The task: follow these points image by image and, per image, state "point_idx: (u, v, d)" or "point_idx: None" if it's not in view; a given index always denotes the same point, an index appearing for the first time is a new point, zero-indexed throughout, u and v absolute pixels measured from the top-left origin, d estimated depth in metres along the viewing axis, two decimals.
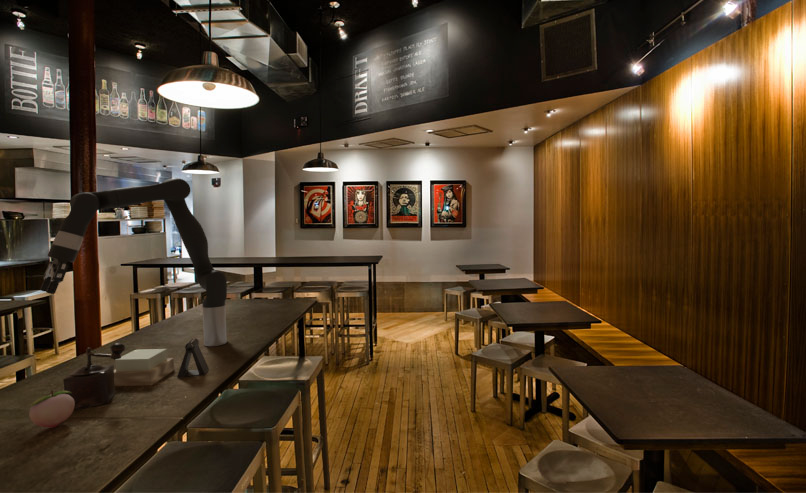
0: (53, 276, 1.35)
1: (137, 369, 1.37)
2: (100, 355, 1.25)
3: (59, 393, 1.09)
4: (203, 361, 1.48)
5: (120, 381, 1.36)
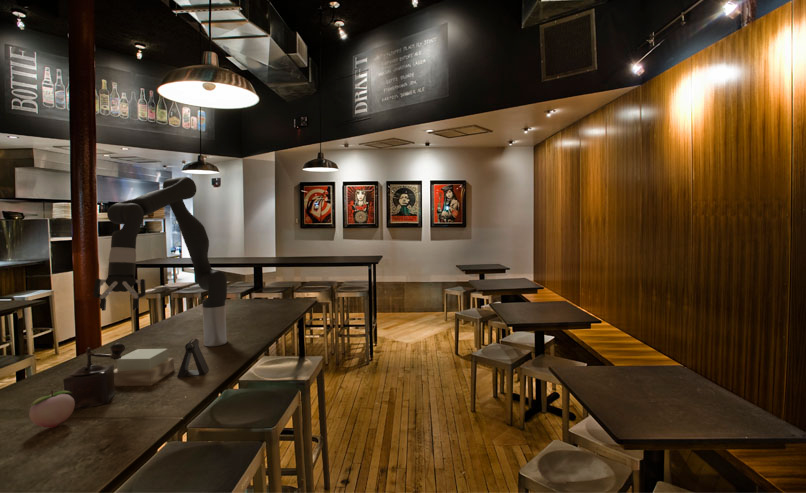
0: (135, 293, 1.38)
1: (138, 369, 1.38)
2: (100, 355, 1.25)
3: (59, 393, 1.09)
4: (203, 361, 1.48)
5: (120, 381, 1.36)
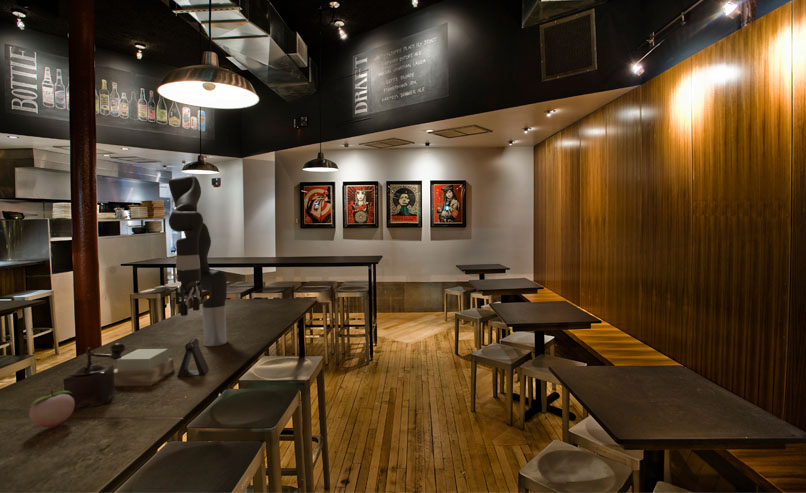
0: (198, 295, 1.50)
1: (138, 369, 1.38)
2: (100, 355, 1.25)
3: (59, 393, 1.09)
4: (203, 361, 1.48)
5: (120, 381, 1.36)
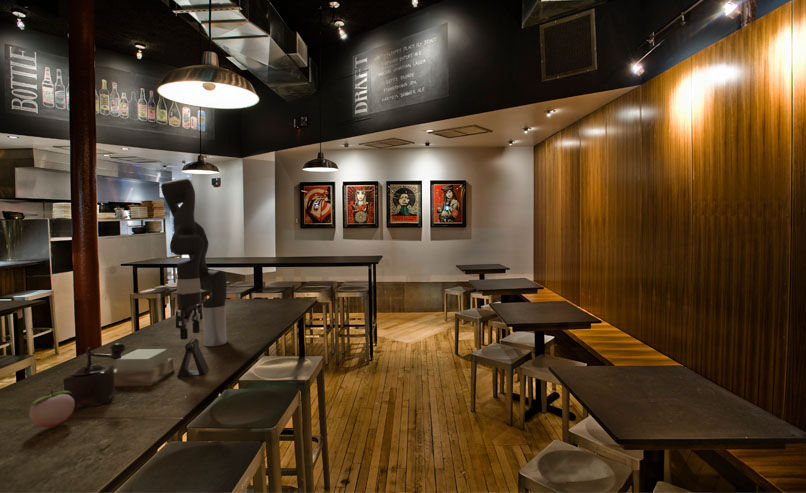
0: (198, 317, 1.50)
1: (137, 369, 1.38)
2: (100, 355, 1.25)
3: (59, 393, 1.09)
4: (203, 361, 1.48)
5: (120, 381, 1.36)
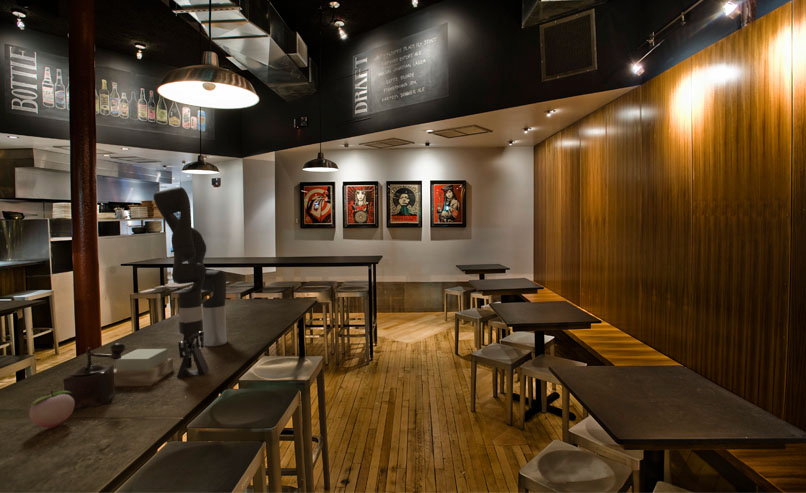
0: (200, 346, 1.50)
1: (137, 369, 1.38)
2: (100, 355, 1.25)
3: (59, 393, 1.09)
4: (203, 361, 1.48)
5: (119, 381, 1.36)
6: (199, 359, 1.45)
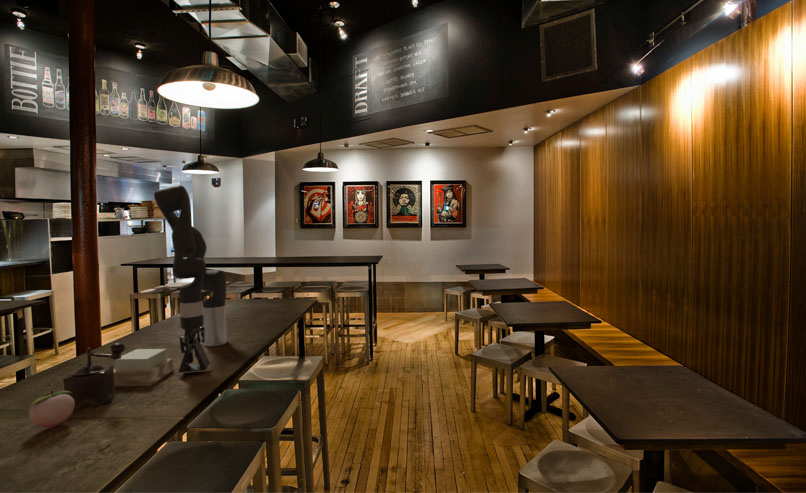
0: None
1: (136, 369, 1.38)
2: (100, 355, 1.25)
3: (59, 393, 1.09)
4: (204, 356, 1.48)
5: (119, 381, 1.36)
6: (200, 354, 1.46)
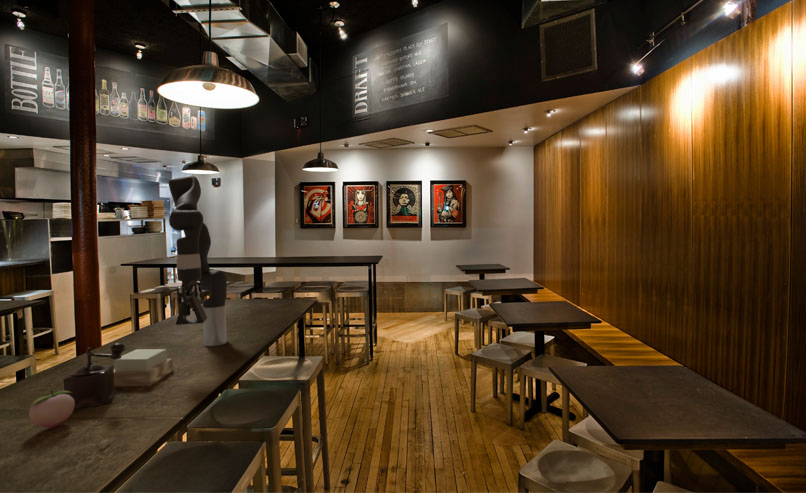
0: (198, 295, 1.49)
1: (135, 369, 1.37)
2: (100, 355, 1.25)
3: (59, 393, 1.09)
4: (202, 310, 1.47)
5: (119, 381, 1.36)
6: (198, 307, 1.44)
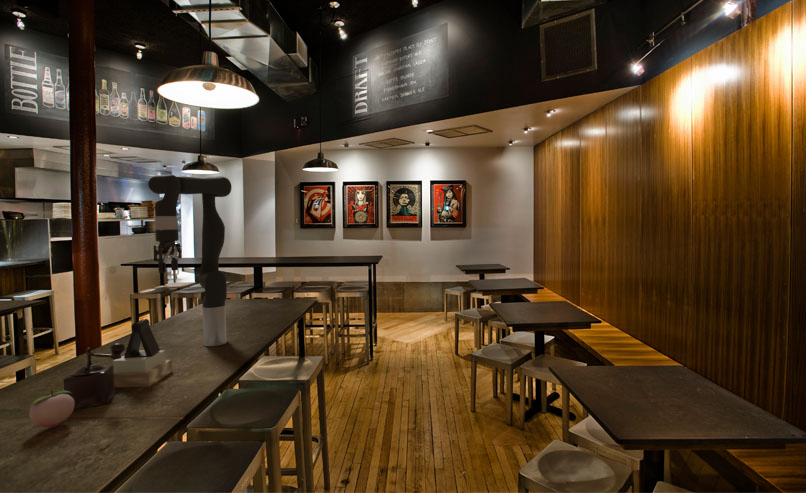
0: (177, 255, 1.58)
1: (134, 370, 1.37)
2: (100, 355, 1.25)
3: (59, 393, 1.09)
4: (153, 342, 1.43)
5: (118, 382, 1.35)
6: (147, 340, 1.41)
